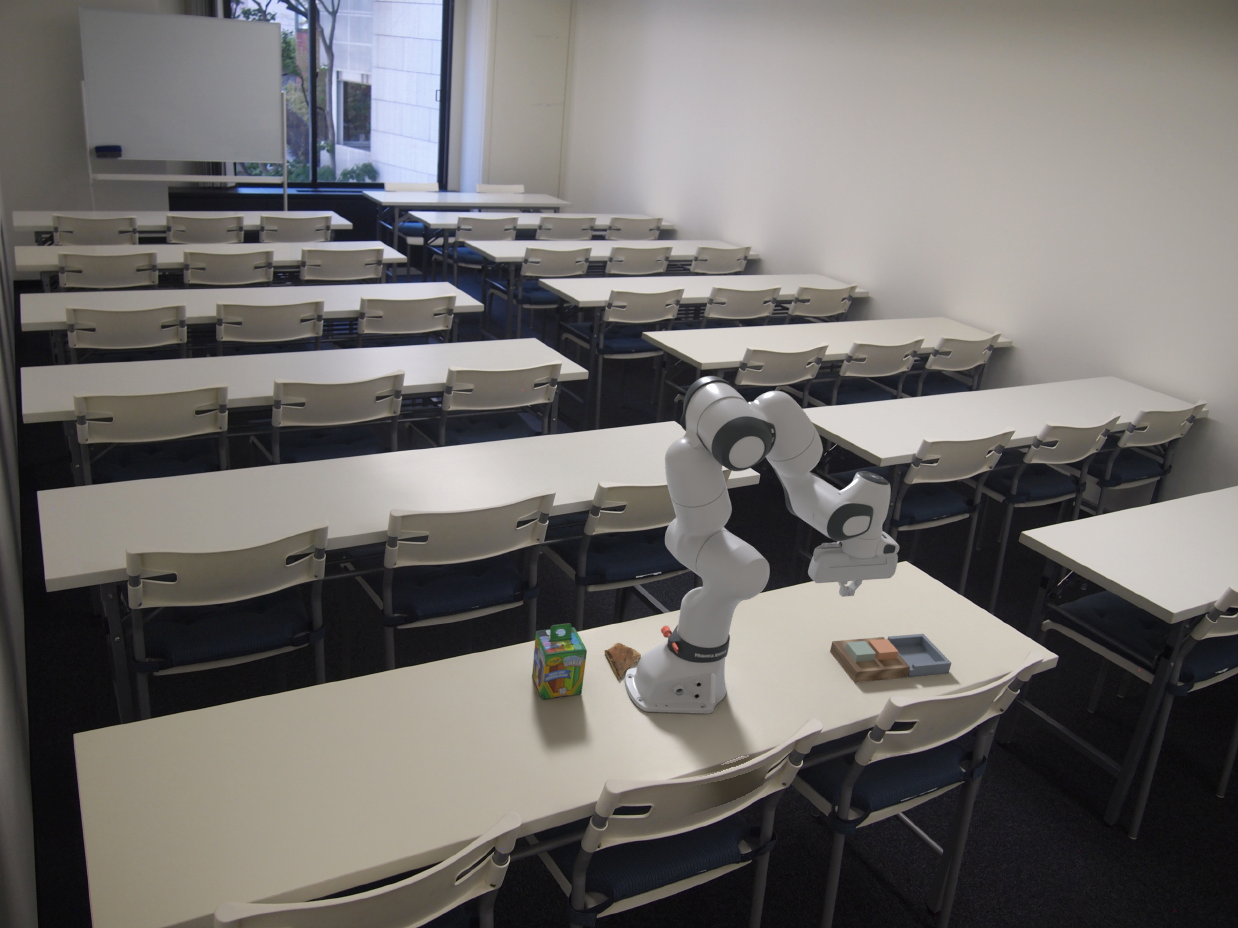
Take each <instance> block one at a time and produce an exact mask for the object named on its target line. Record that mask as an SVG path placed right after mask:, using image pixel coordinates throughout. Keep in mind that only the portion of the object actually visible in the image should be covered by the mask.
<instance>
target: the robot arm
mask: <svg viewBox="0 0 1238 928" xmlns="http://www.w3.org/2000/svg"><path fill="white" fill-rule="evenodd" d="M682 410H683V411H682V415H681V417H680V426H681V428H682V429H683V430H684V431H685V433H684V435H683V436H682V437H681V438H678V439H676V440H675V441H674V442H672V443H671V444H670V445H669V446H668V448H667V450H666V452H665V456H664V469H665V472H664V473H665V477H666V483H667V489H668V493H669V496H670V499H671V504H672V506H673V510H674V513H675V518H674V519H673V520H672V521H671V522H670V523H669V524H668V526H667V529H666V531H665V536H664V545H665V547H666V549H667V550H668V551H669V552H670V554H671V555H672V556H673V557H674V558H675V559H676V561H678V562H679V563H680V564H682V565H683V566H685V567H686V568H687V569H689V570H690V571H692V572H693V573H695V574H696V575H697V576H699V577H701V580H702V586H698V587H695V588H693V589H691V590H690V591H688V592H687V593H686V594H685V595H684V596H683V598H682V600H681V603H680V604H681V605H680V610H679V616H678V624H677V625H676V626H675V628H674V630H672V629H671V628H670V626H669V625H663V626H662V627H661V629H660V633H662V635H663V637H664V638H666V639H667V640H665V641H664V642H663V643H661V644H659V645H658V646H656V647H654V648H652V649H650V650H649V651H647V652H645V653H643V654H641V656H640V657H639V659H638V663H637V666H634V667H630V668H628V669H627V670H626V671H625V676H624V686H625V689H626V691H627V694H628V696H629V697H630V699H631V701H632V703H634V704H635V706H637V707H638V708H639V709H641V710H642V711H644V712H649V713H672V714H673V713H677V714H678V713H679V714H680V713H681V714H682V713H683V714H707V715H708V714H712V713H713V712H714V710H715V709H716V708H715V707H716V705H717V704H718V703H720V702H721V701H722V700H723V699H724V698H725V696H726V694H727V687H726V686H727V685H726V680H725V679H726V678H725V674H726V673H725V670H726V669H725V667H726V666H725V664H726V657H727V656H728V654H729V647H730V640H731V636H730V629H731V625H732V620H733V616H734V612H735V610H736V608H737V607H738V605H739V604H740V603H741V602H743V601H746V600H751V599H753V598H755V597H756V596H758V595H759V594H761V592H762V591H764V589H765V588H766V586H767V584H768V581H769V578H770V572H771V571H770V563H769V562H768V560H767V559H766V557H764V556H763V555H762V554H761V553H760V552H759V551H758V550H757V549H756V548H755V547H754V546H752V545H751V544H749V543H748V542H746V541H745V540H743V539H741V538H740V537H738V536H737V535H735V534H733V533H732V532H730V531H729V530H728V529H726V528H725V526H726V524H727V523H728V522H729V519H730V518H731V514H732V510H733V509H732V508H733V507H732V502H731V499H730V496H729V491H728V487H727V483H726V479H725V475H724V472H723V467H724V468H725V469H728V471H729V470H730V471H732V472H742V471H747V470H749V469H752V468H753V467H755V466H756V465H758V464H759V463H760V462H762V461H763V460H764V459H765V458H766V460H767V462H769V464H770V465H771V466H772V468H773V470H774V472H775V474H776V476H777V478H778V479H779V482H780V483H781V486H782V488H783V492H784V499H785V500H784V501H785V506H786V509H787V510H788V511H789V513H791V514H792V515H794V516H795V517H797V518H799V519H801V520H803V521H804V523H805V522H806V523H807V524H808V525H809V526H811V527H812V528H814V529H815V530H817V531H818V532H820V533H821V534H822V535H824V536H825V537H827V538H829V539H831V540H833V542H822V543H821V545H818V546H816V547H815V548H814V550H813V556H812V558H811V561H810V563H809V567H808V571H807V573H808V576H809V577H810V579H811V580H812V581H813V582H814V583H815V584H824V583H826V584H827V583H828V584H829V583H836V582H837V583H838V585H839V590H838V595H840V596H841V597H843V598H844V597H852V596H853V597H855V593H856V591H857V590H858V588H859V587H860V586H861V585H862V584H863V581H869V580H872V581H873V580H884V579H885V580H886V579H891V578H892V577H893V576H894V575H895V574H896V571H897V567H898V560H899V559H898V558H899V556H898V552H899V550H900V545H899V544H898V543H897V541H895V540H894V539H893V537H891V536H890V535H889V534H888V533H886V532H885V531H883V524H884V523H885V520H886V518H887V515H888V511H889V506H890V501H891V492H892V491H891V484H890V482H889V481H888V480H887V479H885V477H882V476H880V475H879V474H877V473H873V472H871V471H866V470H862V471H861V470H860V471H857V472H856V473H855V475H854V477H853V480H852V481H851V482H850V483H849V484H848V485H847V486H846V487H844V488H843V489H841V490H840V489H838V488H836V487H834V485H832V484H830V483H828V482H827V481H825V480H824V479H823V478H822V477H820V476H819V475H818V474H816V473H813V472H811V471H812V470H813V469H814V468H815V467H816V466H817V465H818V463H819V462H820V460H821V458H822V455H823V452H824V448H823V443H822V439H821V437H820V434H819V432H818V429H816V427H815V424H813V422H812V421H811V418H810V417H809V416H808V415H807V413H806V412H805V411H804V409H803V407H802V406H800V405H799V403H797V401H796V400H795V399H794V398H793V397H792V396H791V395H789V394H788V393H786V392H784V391H780V390H770V391H767V392H765V393H762V394H760V395H759V396H757V397H756V398H755V399H754V400H753V401H747V400H746V399H745V398H744V397H743V395H741V394H740V393H739V392H738V391H737V389H736V388H735V387H734V385H733V384H731V383H730V382H729V381H727V380H725V379H724V378H722V377H718V376H715V375H708V376H703V377H700V378H699V379H697V380H696V381H694V382H693V383H692V384H691V385H690V386H689V388H687V391H686V392H685V395H684V399H683V409H682ZM834 541H835V542H834ZM848 582H850V584H849V585H847V584H848Z"/></svg>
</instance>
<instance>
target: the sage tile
mask: <svg viewBox="0 0 1238 928" xmlns="http://www.w3.org/2000/svg"><path fill="white" fill-rule="evenodd" d="M845 650H846V651H847V653H848V654H849V655H850V656H851V657H852V659H853V660H854V661H855V662H863V661H874V659H875V656H876V653H875V652H874V650H873V649H872V648H871V647H870V646H869V645H868V643H867V642H866V641H858V642H847V643H846V647H845Z"/></svg>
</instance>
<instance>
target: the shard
mask: <svg viewBox="0 0 1238 928" xmlns="http://www.w3.org/2000/svg"><path fill="white" fill-rule="evenodd" d="M604 654H605V656H606V657H607V659H608V660H609V662H610V665H611V667H612V670H613V673H614V674H615V676H616V677H617V678H618V679H619V680H620V679H621V677H622V676H623V675H624V674H625V673H626V672H627V670H628V669H630V668H631V666H632V665H633V664H634V663H635V662H637V660H640V658H641V657H642V654H641V653H640V652H639V651H637V650H636V649H634V648H632V647H629V646H627V645H624V644H623V643H622V642H621V643H620V642H616V643H615V644H613V645H612V646H611V647H610V648H608V649H605V650H604Z"/></svg>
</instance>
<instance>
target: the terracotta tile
mask: <svg viewBox="0 0 1238 928" xmlns="http://www.w3.org/2000/svg"><path fill="white" fill-rule="evenodd" d="M868 645H869V646H870V647H871V648H872V649H873V650H874V652H875V653H876V656H875V657H876V658H877V660H885V659H895V658H897V655H898V650H897V649H896V648H895V647H894V646H893V645H892V644H891V642H890V641H889V640H888V638H885V639H881V640H869V643H868Z"/></svg>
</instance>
